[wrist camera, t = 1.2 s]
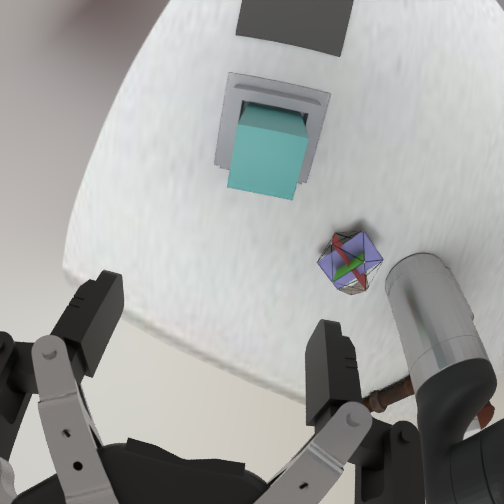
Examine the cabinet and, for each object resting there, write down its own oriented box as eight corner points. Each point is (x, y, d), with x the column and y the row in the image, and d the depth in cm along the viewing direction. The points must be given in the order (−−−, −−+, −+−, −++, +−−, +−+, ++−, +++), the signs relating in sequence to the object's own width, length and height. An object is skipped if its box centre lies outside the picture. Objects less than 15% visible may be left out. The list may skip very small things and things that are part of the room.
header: (329, 93, 29) (335, 98, 26) (306, 181, 34) (308, 195, 32) (229, 72, 28) (223, 75, 25) (214, 163, 34) (208, 175, 31)
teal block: (300, 111, 29) (308, 138, 21) (288, 156, 32) (292, 200, 24) (249, 100, 29) (237, 124, 21) (241, 147, 32) (227, 187, 24)
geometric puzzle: (297, 243, 37) (328, 306, 33) (346, 208, 34) (383, 273, 30) (324, 251, 42) (351, 305, 39) (366, 222, 39) (397, 277, 36)
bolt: (357, 393, 63) (417, 364, 56) (368, 408, 63) (428, 381, 55) (351, 409, 58) (416, 381, 51) (363, 425, 58) (427, 398, 50)
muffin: (479, 381, 58) (490, 415, 50) (493, 389, 61) (503, 420, 53) (441, 405, 64) (449, 438, 56) (458, 411, 67) (466, 441, 59)
